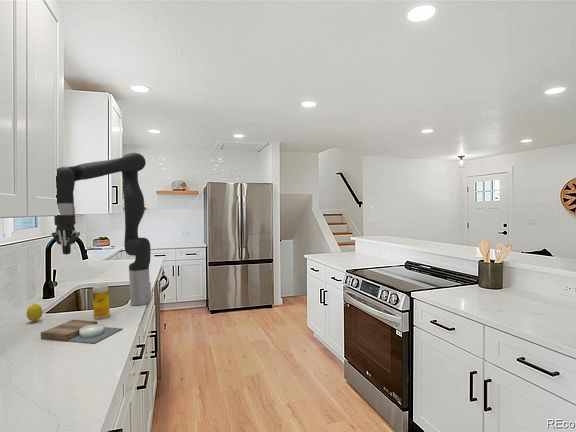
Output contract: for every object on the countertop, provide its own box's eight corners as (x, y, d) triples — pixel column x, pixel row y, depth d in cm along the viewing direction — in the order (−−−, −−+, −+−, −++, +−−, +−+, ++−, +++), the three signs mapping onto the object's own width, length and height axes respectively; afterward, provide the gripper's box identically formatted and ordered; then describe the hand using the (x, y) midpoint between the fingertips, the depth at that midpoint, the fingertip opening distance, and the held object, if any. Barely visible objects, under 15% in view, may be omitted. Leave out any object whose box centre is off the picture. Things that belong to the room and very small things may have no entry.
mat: (98, 327, 135) (98, 326, 135) (122, 329, 132) (122, 328, 132) (67, 341, 121) (67, 340, 121) (94, 343, 118) (94, 342, 118)
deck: (73, 325, 138) (72, 319, 138) (97, 327, 135) (97, 321, 135) (40, 339, 124) (40, 332, 124) (67, 341, 121) (66, 334, 121)
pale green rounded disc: (91, 329, 132) (91, 323, 132) (108, 330, 130) (108, 324, 130) (74, 337, 124) (74, 331, 124) (92, 338, 122) (92, 332, 122)
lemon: (34, 324, 140) (33, 305, 140) (23, 323, 141) (22, 305, 141) (46, 319, 146) (45, 301, 145) (35, 319, 147) (34, 301, 146)
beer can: (90, 318, 146) (89, 284, 146) (104, 314, 151) (102, 281, 151) (99, 320, 143) (97, 286, 143) (112, 316, 149) (111, 282, 148)
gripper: (84, 213, 145) (86, 253, 145) (60, 214, 148) (61, 252, 148) (69, 214, 137) (71, 255, 138) (44, 214, 140) (46, 255, 141)
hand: (66, 254), depth 143 cm, fingers closed
